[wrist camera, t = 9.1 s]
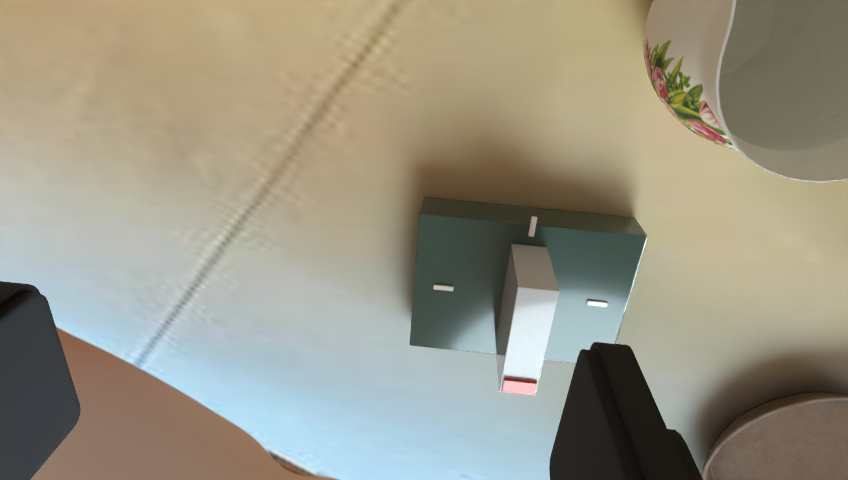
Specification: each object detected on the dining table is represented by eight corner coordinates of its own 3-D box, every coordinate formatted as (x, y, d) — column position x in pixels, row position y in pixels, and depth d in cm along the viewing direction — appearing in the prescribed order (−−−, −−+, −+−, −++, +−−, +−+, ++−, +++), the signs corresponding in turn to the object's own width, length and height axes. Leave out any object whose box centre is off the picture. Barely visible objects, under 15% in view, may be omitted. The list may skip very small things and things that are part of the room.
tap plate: (412, 328, 43) (408, 353, 40) (423, 188, 37) (419, 206, 34) (598, 348, 42) (607, 374, 39) (637, 209, 37) (651, 228, 34)
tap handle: (511, 243, 35) (518, 288, 30) (547, 247, 35) (560, 293, 30) (495, 339, 39) (498, 394, 34) (527, 342, 39) (536, 398, 34)
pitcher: (730, 193, 36) (867, 308, 23) (551, -4, 31) (605, 10, 19) (894, 71, 31) (1164, 132, 19) (715, -178, 27) (921, -305, 15)
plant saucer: (645, 453, 47) (656, 482, 44) (831, 335, 40) (858, 362, 37) (767, 544, 51) (784, 576, 48) (954, 452, 44) (986, 483, 41)
